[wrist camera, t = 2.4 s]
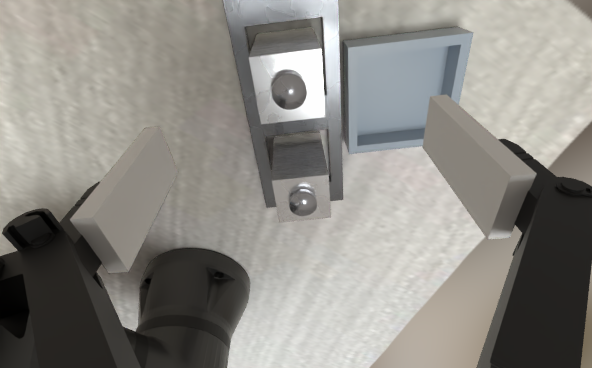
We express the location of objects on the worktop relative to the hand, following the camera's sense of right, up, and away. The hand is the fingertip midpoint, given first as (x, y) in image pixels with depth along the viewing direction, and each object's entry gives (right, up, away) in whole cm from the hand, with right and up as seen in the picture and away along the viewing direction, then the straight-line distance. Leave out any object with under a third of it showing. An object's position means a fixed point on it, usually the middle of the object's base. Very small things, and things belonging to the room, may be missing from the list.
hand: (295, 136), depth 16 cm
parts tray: (+10, +7, +15) cm, 19 cm away
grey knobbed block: (0, +1, +19) cm, 19 cm away
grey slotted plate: (0, +5, +16) cm, 16 cm away
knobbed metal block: (-1, +9, +13) cm, 16 cm away
